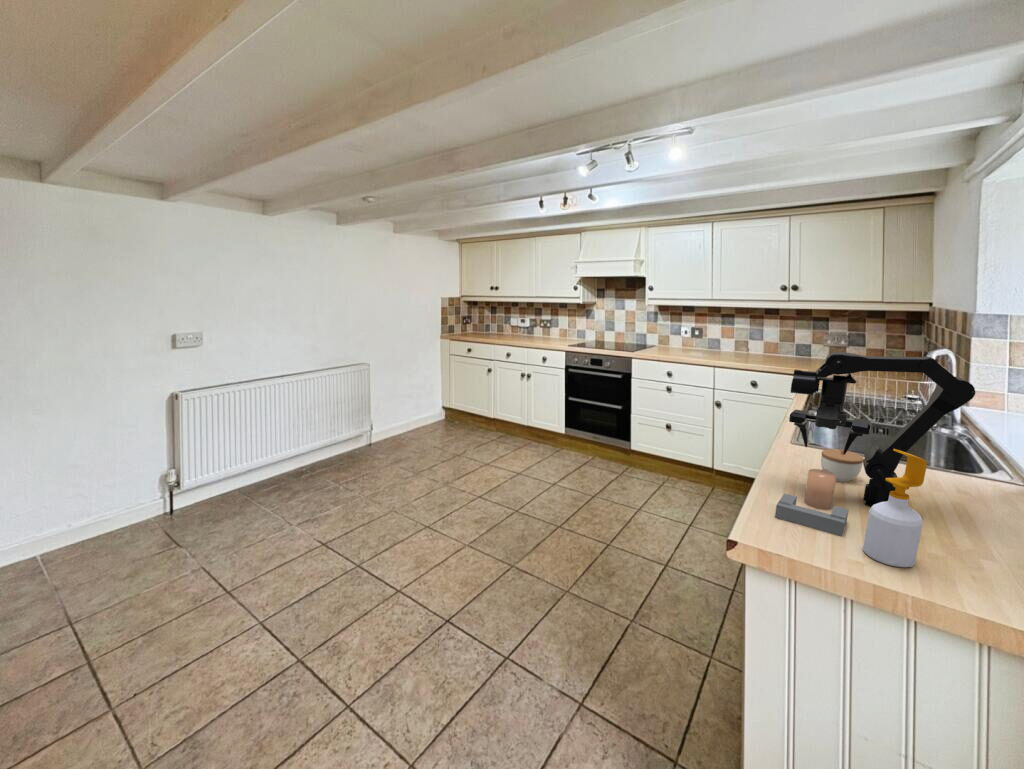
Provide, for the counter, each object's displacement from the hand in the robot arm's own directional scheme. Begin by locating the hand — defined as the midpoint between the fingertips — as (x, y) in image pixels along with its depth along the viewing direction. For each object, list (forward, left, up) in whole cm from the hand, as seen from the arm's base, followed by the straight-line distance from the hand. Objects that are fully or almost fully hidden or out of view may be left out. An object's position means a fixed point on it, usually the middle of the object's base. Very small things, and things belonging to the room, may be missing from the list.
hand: (824, 450), depth 133 cm
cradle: (-1, +21, -13) cm, 24 cm away
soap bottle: (-17, +29, -13) cm, 36 cm away
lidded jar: (-3, -17, -13) cm, 22 cm away
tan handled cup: (-1, +7, -13) cm, 15 cm away
